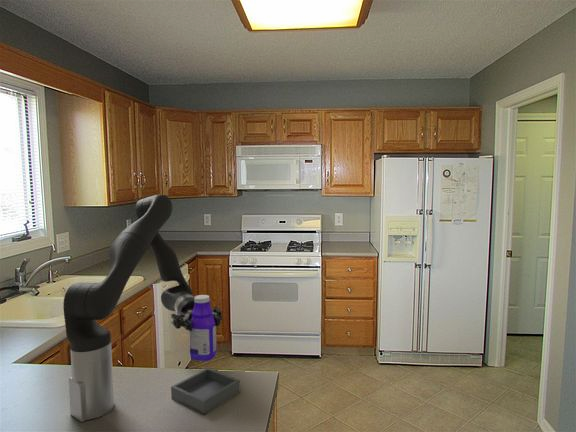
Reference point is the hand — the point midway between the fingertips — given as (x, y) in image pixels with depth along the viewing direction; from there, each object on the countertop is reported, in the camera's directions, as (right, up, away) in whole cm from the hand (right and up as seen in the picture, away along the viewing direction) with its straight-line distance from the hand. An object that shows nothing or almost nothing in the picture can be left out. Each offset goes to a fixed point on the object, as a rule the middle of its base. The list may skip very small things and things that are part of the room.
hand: (204, 324), depth 100 cm
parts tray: (0, -20, +1) cm, 20 cm away
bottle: (-1, -10, +3) cm, 10 cm away
